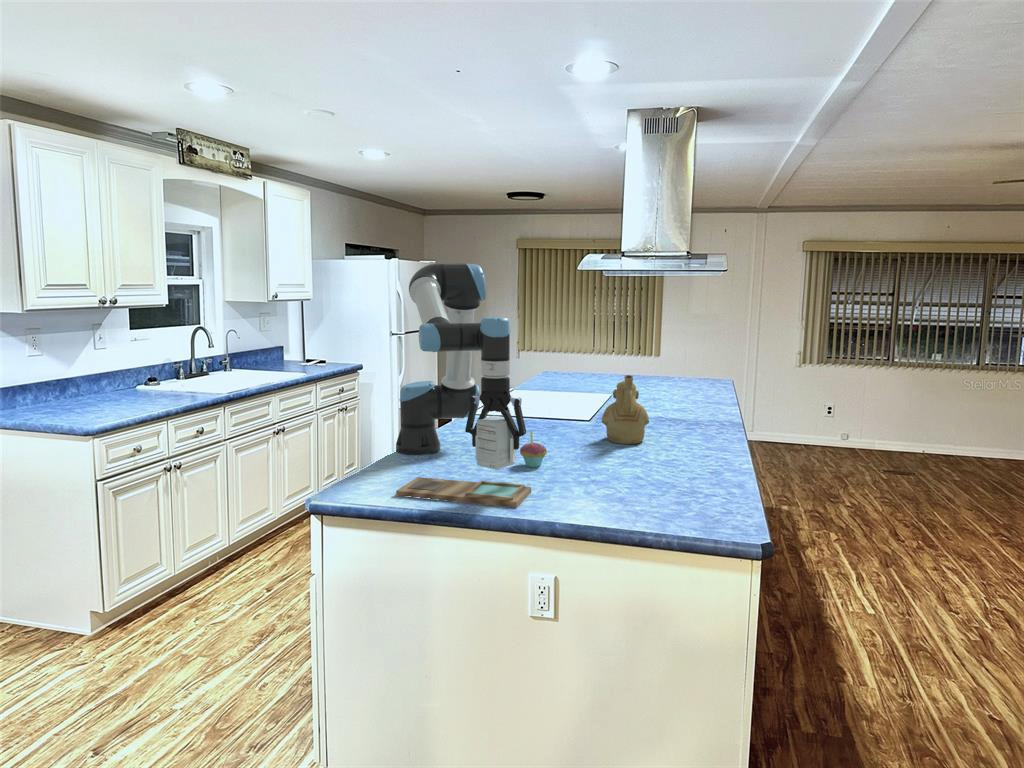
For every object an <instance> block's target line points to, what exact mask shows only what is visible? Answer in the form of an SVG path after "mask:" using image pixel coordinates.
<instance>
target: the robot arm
mask: <svg viewBox="0 0 1024 768" xmlns="http://www.w3.org/2000/svg"><path fill="white" fill-rule="evenodd" d="M408 293H409V296H410V299H411V300H412V302H413V303H414V304H415V305H416V307H417V308H416V309H417V312H418V315H419V318H420V321H421V324H420V325H419V328H418V343H419V344H418V345H419V349H420V350H421V351H422V352H432V353H439V352H446V359H445V361H446V363H445V375H444V376H442V378H441V380H440V381H441V383H440V385H439V384H437V385H436V384H435V382H434V381H432V380H421V381H413V382H410V383H406V384H404V385H402V387H401V388H400V390H399V392H400V393H399V403H400V405H399V406H400V410H399V411H400V413H399V414H400V415H399V417H400V430H399V433H398V435H397V439H396V443H395V451H396V452H397V453H399V454H402V455H408V456H409V455H412V456H419V455H421V456H422V455H430V454H434V453H435V454H436V453H438V452H439V451H440V450H441V442H440V439H439V436H438V433H437V429H436V420H442V419H443V420H448V419H465V418H467V419H466V420H467V421H466V424H465V425H466V426H465V429H464V431H465V433H468V434H471V442H472V444H471V445H472V447H473V448H475V460H476V461H477V421H476V422H475V419H476V414H477V412H478V409H479V405H480V402H481V404H482V405H483V407H482V408H481V412H480V415H479V416H478V419H484V418H486V417H488V414H489V413H491V412H497V413H501V415H502V417H504V419H505V421H506V423H507V425H508V427H509V429H510V431H511V433H512V435H513V437H511V438H510V462H512V463H513V462H514V463H515V461H517V455H516V453H517V450H518V449H519V450H520V437H523V436H525V435H526V434H527V429H526V423H525V419H524V415H523V411H522V397H513V396H511V393H510V391H511V390H510V389H511V388H510V387H511V384H510V382H511V381H510V377H509V376H510V374H511V372H510V368H511V367H510V354H511V353H510V346H511V344H510V338H511V337H510V334H511V329H510V320H509V318H507V317H503V316H502V317H501V316H488V317H483V318H482V319H481V320H480V322H475V313H476V311H477V310H479V308H480V307H481V306H480V305H481V302H483V301H485V300H486V298H487V286H486V278H485V274H484V271H483V269H482V267H481V266H480V265H478V264H476V263H475V264H473V263H467V262H466V263H431V264H428V265H425V266H423V267H421V268H420V269H418V270H417V271H416V272H415V273H414V274H413V276H412V277H411V278H410V281H409V283H408ZM446 309H447V310H448V313H447V310H446ZM474 351H475V352H477V351H480V355H481V358H480V374H481V375H482V377H481V378H480V387H479V385H478V384H477V383H476V380H475V379H474V377H472V366H473V352H474ZM510 403H511V405H512V406H513V410H514V414H515V415H514V416H515V420H516V423H517V425H516V423H515V420H513V419H514V418H513V416H512V414H511V411H510V408H509V404H510ZM478 419H477V420H478Z"/></svg>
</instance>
